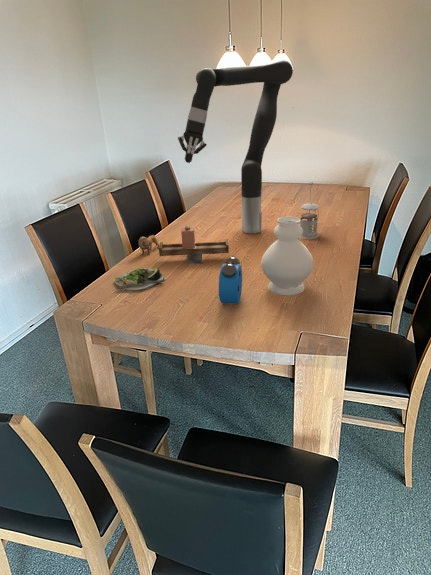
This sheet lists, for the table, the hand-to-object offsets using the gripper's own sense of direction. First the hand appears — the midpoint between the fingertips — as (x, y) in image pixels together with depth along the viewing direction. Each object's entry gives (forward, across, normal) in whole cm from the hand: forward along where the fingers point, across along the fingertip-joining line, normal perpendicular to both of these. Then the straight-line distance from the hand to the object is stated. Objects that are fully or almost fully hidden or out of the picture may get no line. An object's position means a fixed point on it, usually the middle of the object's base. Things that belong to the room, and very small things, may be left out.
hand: (187, 162), depth 187 cm
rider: (+31, +2, -23) cm, 39 cm away
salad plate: (+44, -18, -35) cm, 59 cm away
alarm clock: (+36, +7, -64) cm, 74 cm away
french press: (+19, +61, -15) cm, 65 cm away
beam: (+36, +5, -24) cm, 43 cm away
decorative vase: (+30, +28, -61) cm, 73 cm away
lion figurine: (+41, -10, -7) cm, 42 cm away
